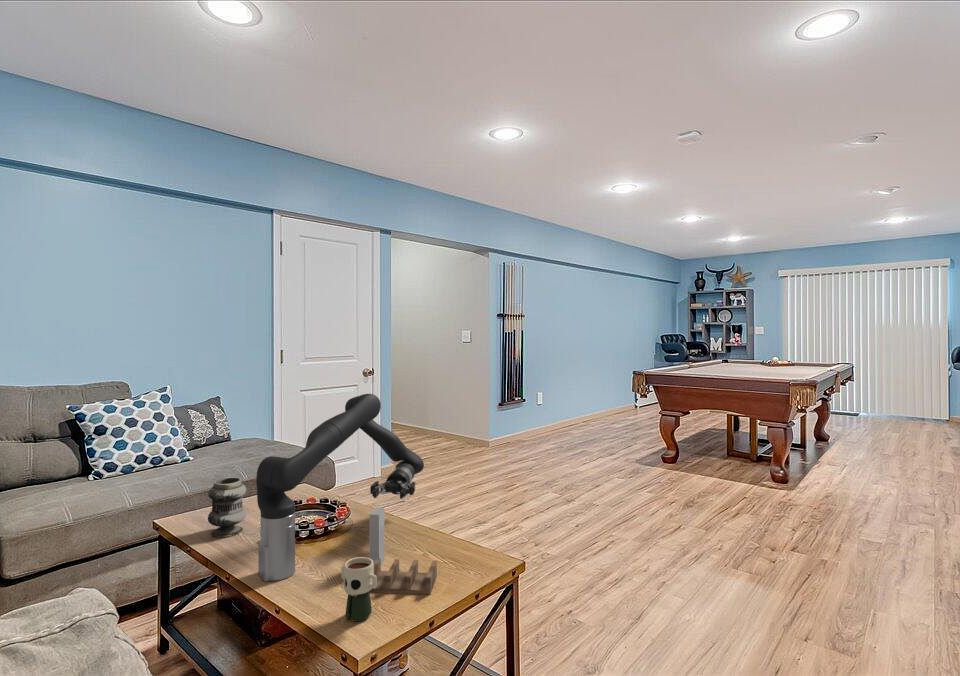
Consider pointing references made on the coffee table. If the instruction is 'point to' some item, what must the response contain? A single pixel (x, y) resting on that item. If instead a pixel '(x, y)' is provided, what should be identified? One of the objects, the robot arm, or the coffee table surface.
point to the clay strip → (377, 535)
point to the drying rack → (404, 579)
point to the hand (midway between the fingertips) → (387, 495)
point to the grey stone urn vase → (227, 506)
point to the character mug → (358, 586)
